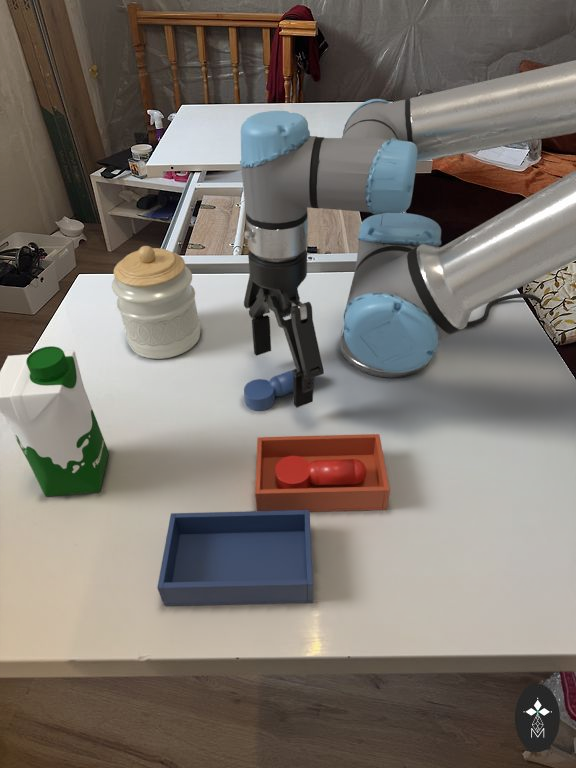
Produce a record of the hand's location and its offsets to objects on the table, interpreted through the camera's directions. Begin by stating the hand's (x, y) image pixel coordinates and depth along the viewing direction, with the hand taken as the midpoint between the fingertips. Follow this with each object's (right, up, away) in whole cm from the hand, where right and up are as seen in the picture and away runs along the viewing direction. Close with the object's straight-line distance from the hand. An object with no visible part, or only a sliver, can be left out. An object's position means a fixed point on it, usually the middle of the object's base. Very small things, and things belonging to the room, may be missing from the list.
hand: (281, 376), depth 81 cm
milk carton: (-28, -13, -9) cm, 32 cm away
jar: (-21, +7, +14) cm, 26 cm away
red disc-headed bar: (+5, -14, -12) cm, 19 cm away
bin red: (+5, -14, -11) cm, 19 cm away
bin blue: (-4, -22, -20) cm, 30 cm away
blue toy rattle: (-1, -3, +2) cm, 3 cm away
